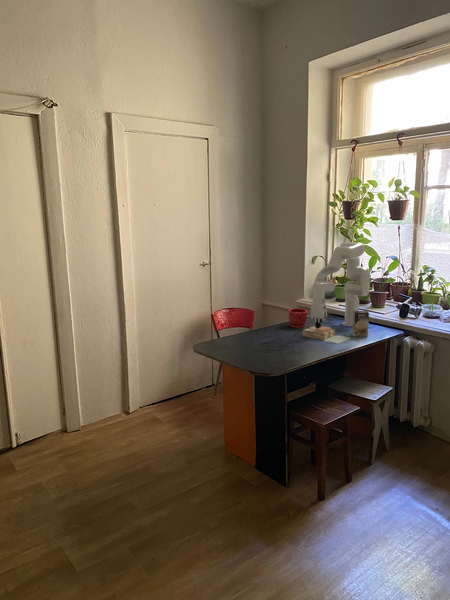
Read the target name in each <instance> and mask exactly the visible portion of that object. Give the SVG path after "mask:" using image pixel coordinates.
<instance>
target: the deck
mask: <svg viewBox="0 0 450 600" xmlns="http://www.w3.org/2000/svg"><path fill="white" fill-rule="evenodd" d="M335 335H336V329H334V328H333V329H332V328H331V331H329V332H326V333H320V332H316V326H314V325H313V326H310V327H308V328H305V329H302V337H307V338H311V339H315V340H321V341H323V340H325V339H328V338H330V337H333V336H335Z"/></svg>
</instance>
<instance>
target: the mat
mask: <svg viewBox="0 0 450 600" xmlns="http://www.w3.org/2000/svg"><path fill="white" fill-rule="evenodd" d="M351 338H352V337H348V336H342V335H338V334H337V335H336V334H335V336H333V337H330V338H328V339H325V340H322V341H323V342H327V343H332V344H337V345H340V344H341V343H344V342H346V341H348V340H350V339H351Z"/></svg>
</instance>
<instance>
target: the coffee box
mask: <svg viewBox="0 0 450 600" xmlns="http://www.w3.org/2000/svg"><path fill="white" fill-rule="evenodd" d="M369 319H370V312H369V311H367V310H359V311H353V327H351V328H352V329H351V330H352V331H351V334H352V336H353V337H356V338H357V337H361V338H363V337H364V338H365V337H366V338H368V337H369Z"/></svg>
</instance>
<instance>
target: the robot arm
mask: <svg viewBox="0 0 450 600" xmlns="http://www.w3.org/2000/svg"><path fill="white" fill-rule="evenodd" d="M365 251H366V247H365V245H364V243H362V242H352V241H351V242H350V241H348V242H347V241H346V242H342V243H341V244H340V246H336V247H335V248H334V250H333V252H332V254H331V256H330V259H329V261H328V264H327V265H326V266H325V267H323V268H322V269H321V270H320V271H319V272H318V273H317V275H316V276H315V279H314V281H313V283H312V302H311V306H310V319H312V320H313V321H314V323H315V326H316V328H319V327H322V326H321V325H322V324H321V323H322V322H323V321H326V320H327V319H326V318H327V317H328V312H327V311H328V310H327V309H328V308H327V304H326V302H327V300H326V299H325V294H326V293H332V292H334V291H335V289H336V284H335V283H334V282H333V281H331V280H325V278H326V277H328V276H329V275H331V274H335V273H337V272H340V270H341V268H342V266H343V263H344V261H345V260H346V277H347V279H349V280H350V281H346V282H345V284H344V287H343V289H344V294H345V295H344V297H345V300H344V301H345V303H344V304H345V305H344V321H343V322H342V326H345V327H349V328H352V327H353V311H360V299H359V297H358V296H360V297H367V296H368V295H369V293H370V287H371V286H370V285H371V272H370V270H369V268H368V267H367V266H361V265H360V263H361V262H360V257H361V256H363V254H364V253H365ZM352 280H353V281H352Z"/></svg>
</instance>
